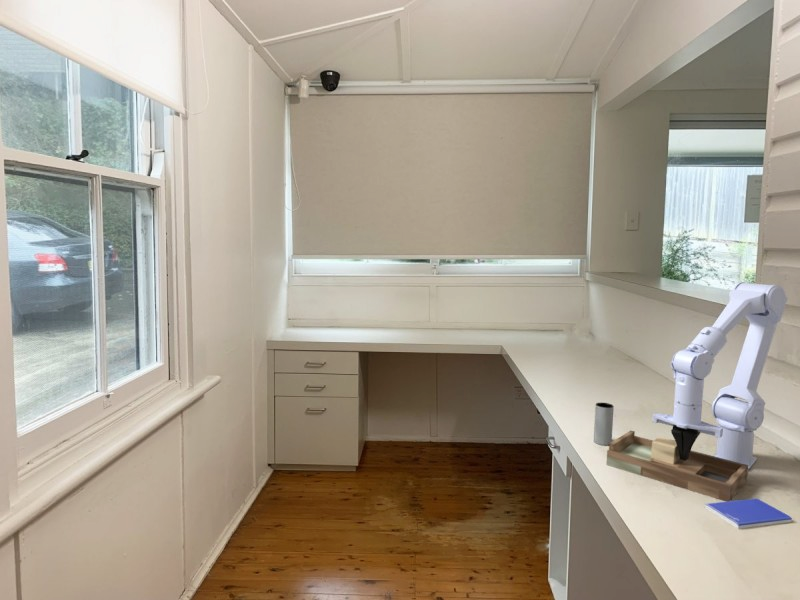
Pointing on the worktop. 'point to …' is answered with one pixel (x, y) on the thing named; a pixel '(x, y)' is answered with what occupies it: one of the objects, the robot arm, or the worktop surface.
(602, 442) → the planter
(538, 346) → the worktop surface
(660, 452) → the maple block
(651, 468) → the tray
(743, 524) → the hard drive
